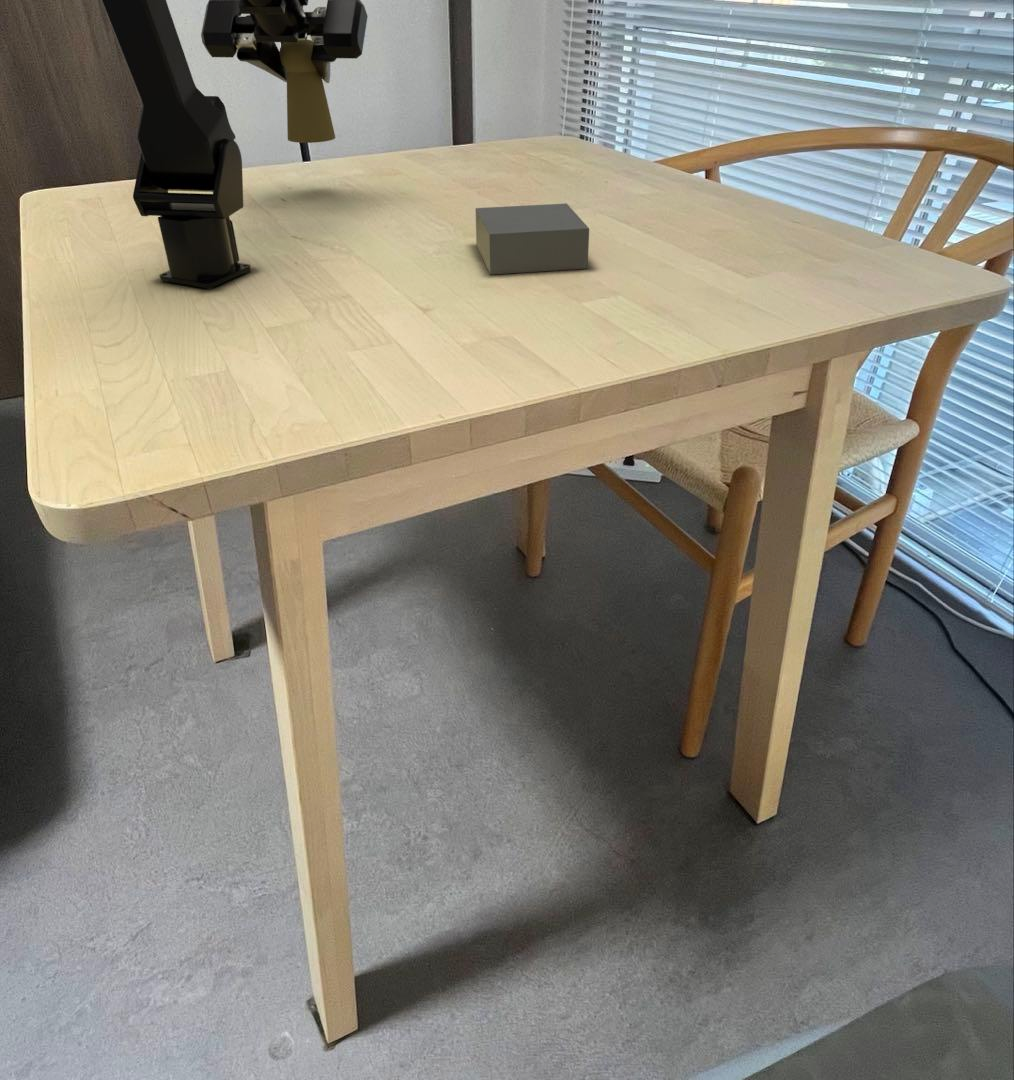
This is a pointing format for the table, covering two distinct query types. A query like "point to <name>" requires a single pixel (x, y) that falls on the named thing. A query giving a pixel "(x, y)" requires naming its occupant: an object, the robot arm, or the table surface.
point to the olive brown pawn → (305, 95)
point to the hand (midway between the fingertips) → (308, 79)
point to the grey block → (531, 238)
